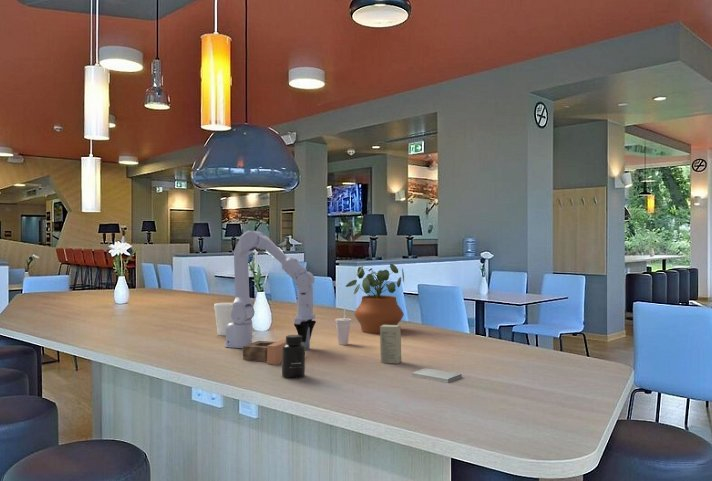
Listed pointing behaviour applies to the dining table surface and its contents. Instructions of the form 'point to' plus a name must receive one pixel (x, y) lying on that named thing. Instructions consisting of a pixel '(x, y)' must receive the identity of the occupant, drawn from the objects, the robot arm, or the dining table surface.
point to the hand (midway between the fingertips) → (304, 341)
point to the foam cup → (223, 316)
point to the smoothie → (343, 329)
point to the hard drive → (437, 375)
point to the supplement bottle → (293, 357)
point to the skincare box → (390, 343)
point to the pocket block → (256, 351)
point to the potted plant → (377, 301)
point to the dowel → (307, 340)
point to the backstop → (275, 352)
